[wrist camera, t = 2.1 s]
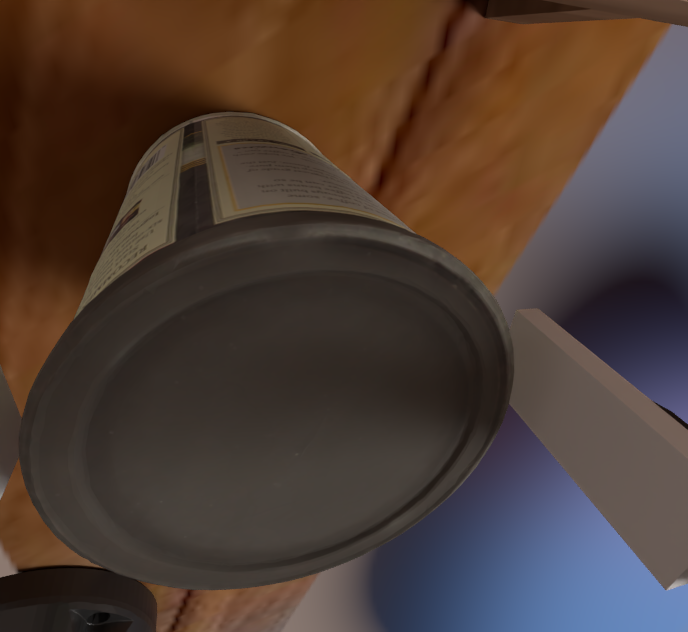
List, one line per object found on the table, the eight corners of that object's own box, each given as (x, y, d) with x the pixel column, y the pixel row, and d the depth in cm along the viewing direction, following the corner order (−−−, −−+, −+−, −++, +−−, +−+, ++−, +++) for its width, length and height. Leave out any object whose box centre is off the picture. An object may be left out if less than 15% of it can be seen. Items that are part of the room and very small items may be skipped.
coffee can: (322, 323, 25) (430, 561, 13) (123, 311, 21) (41, 628, 10) (370, 137, 20) (600, 263, 9) (125, 79, 16) (-32, 165, 5)
